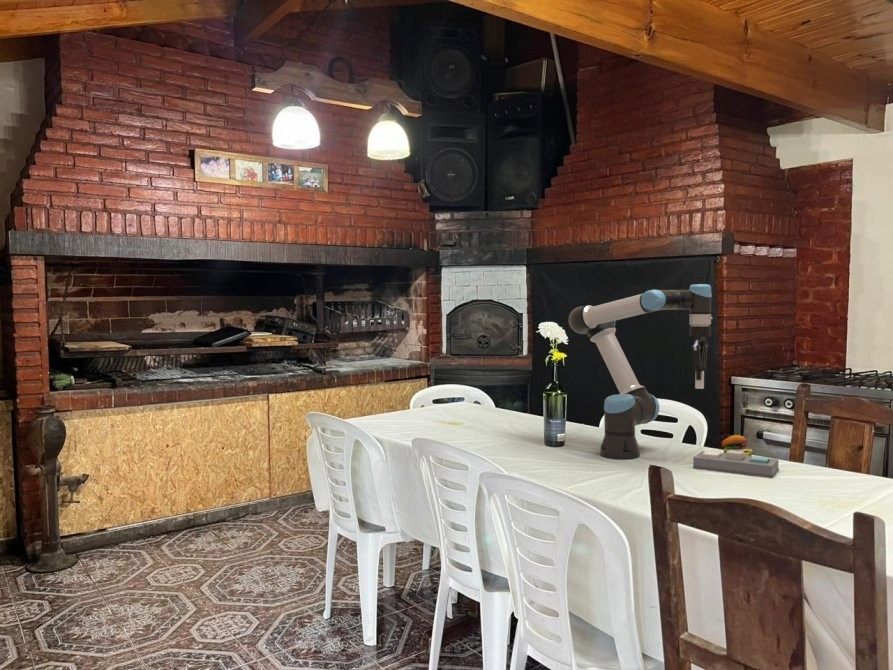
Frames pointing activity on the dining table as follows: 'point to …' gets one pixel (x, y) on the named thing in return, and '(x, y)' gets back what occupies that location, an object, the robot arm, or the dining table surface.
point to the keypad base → (736, 465)
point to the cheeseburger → (736, 444)
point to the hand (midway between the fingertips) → (699, 388)
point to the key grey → (735, 455)
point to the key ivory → (711, 454)
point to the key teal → (760, 459)
